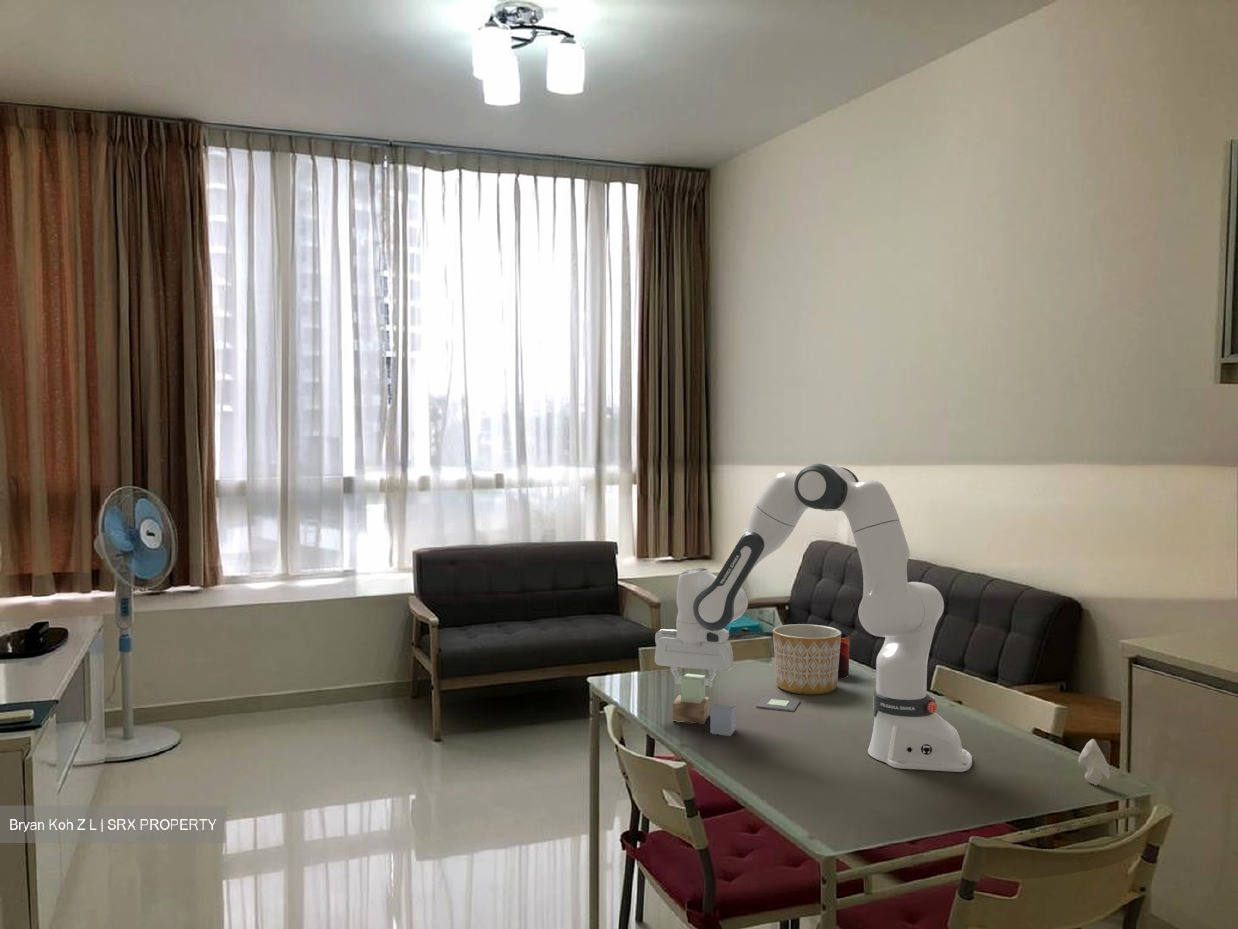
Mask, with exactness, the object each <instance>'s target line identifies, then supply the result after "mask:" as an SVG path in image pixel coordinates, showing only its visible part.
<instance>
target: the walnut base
mask: <svg viewBox="0 0 1238 929" xmlns="http://www.w3.org/2000/svg"><path fill="white" fill-rule="evenodd" d="M709 716H710V696H705V699H704V700H703V701H702V702H701V703H700V704H698V703H689V702H681V694H678V695H677V697H676V698H675V699H674V701H673V703H672V721H673V720H677V721H684V722H694V723H699V724H698V725H705V723H706V722H705V721H707V720H706V719H708V718H709Z"/></svg>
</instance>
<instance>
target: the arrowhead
mask: <svg viewBox="0 0 1238 929" xmlns="http://www.w3.org/2000/svg"><path fill="white" fill-rule="evenodd" d="M1077 763H1078V764H1079V766H1080V767H1081V766H1084V767H1085V768H1086V772H1085V774H1084V778H1085V780H1086V781H1087V782H1089V783H1090V784H1091V785H1093V784H1094V785H1093V786H1098V785H1099V784H1100V783H1101V780H1102V779H1103V776H1104V777H1106V779H1108V780H1109V779H1110V777H1111V773H1110V768H1109V764H1108V762H1107V760H1106V758H1105V754H1103V752H1102V751H1101V749H1100V747H1099V745H1098V743H1097V741H1096V739H1094V738H1092V739H1090V740H1089V741H1088V742H1086V744H1085V746H1084V747H1083V749H1082V750H1081V753H1080V755H1079V756H1078V760H1077Z"/></svg>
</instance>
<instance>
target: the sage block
mask: <svg viewBox="0 0 1238 929" xmlns="http://www.w3.org/2000/svg"><path fill="white" fill-rule="evenodd" d="M705 680H706V675H705V674H703V675H702V674H695V673H694V674H693V673H686V674H684V675H683V676H682V678H681V684H680V695H681V702H689V703H698V704H700V703H701V702H702V701H703V700H704V699H705V697H706V687H705Z"/></svg>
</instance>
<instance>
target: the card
mask: <svg viewBox="0 0 1238 929" xmlns="http://www.w3.org/2000/svg"><path fill="white" fill-rule="evenodd" d="M800 703H801V699H797V698H796V699H793V698H783V697H776V696H775V697H774V696H765V695H763V697H762V698H761V699H760V701H759V702H758V703H757V704H756V705H755V708H756V709H762V710H763V709H766V710H773V711H774V710H775V711H785V712H792V713H793V712H795V710H796V709H797V707H798V706H799V705H800Z"/></svg>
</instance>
